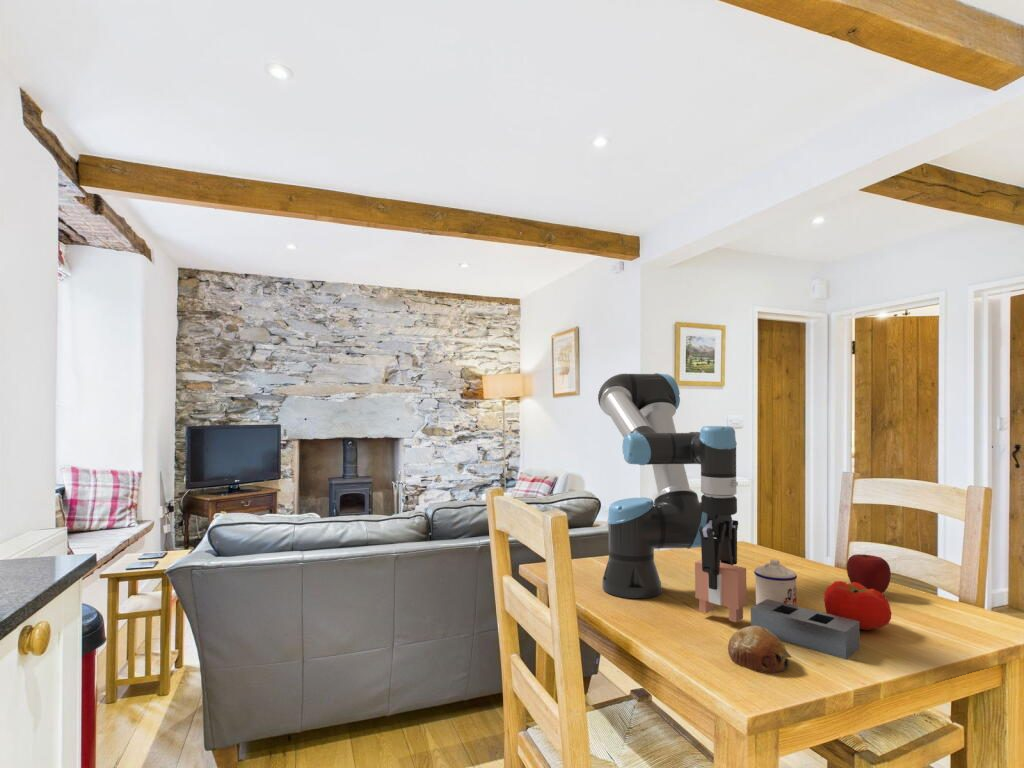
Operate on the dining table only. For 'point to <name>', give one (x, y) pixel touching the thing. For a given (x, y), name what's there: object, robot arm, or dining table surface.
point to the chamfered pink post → (723, 589)
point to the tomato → (857, 604)
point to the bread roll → (758, 650)
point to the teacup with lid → (775, 583)
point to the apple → (869, 571)
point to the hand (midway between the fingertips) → (720, 600)
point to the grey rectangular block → (808, 627)
